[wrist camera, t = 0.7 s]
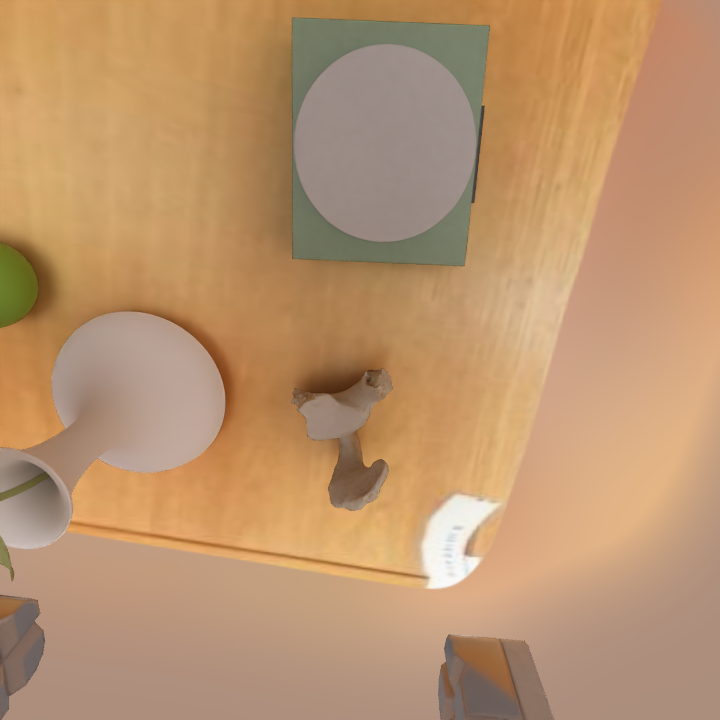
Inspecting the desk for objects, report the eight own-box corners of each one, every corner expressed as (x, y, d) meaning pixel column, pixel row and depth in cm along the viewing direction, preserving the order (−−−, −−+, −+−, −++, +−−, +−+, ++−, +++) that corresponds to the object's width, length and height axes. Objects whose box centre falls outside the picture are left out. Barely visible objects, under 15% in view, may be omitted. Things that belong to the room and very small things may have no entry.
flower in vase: (265, 384, 34) (14, 818, 10) (167, 486, 36) (-218, 1023, 12) (111, 252, 31) (-737, 405, 7) (17, 372, 34) (-828, 773, 10)
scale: (299, 36, 27) (289, 10, 24) (482, 44, 27) (500, 19, 24) (299, 253, 31) (290, 260, 27) (460, 260, 31) (472, 268, 27)
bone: (301, 324, 31) (375, 417, 23) (381, 339, 34) (467, 424, 27) (260, 432, 34) (313, 546, 26) (338, 435, 37) (404, 535, 30)
